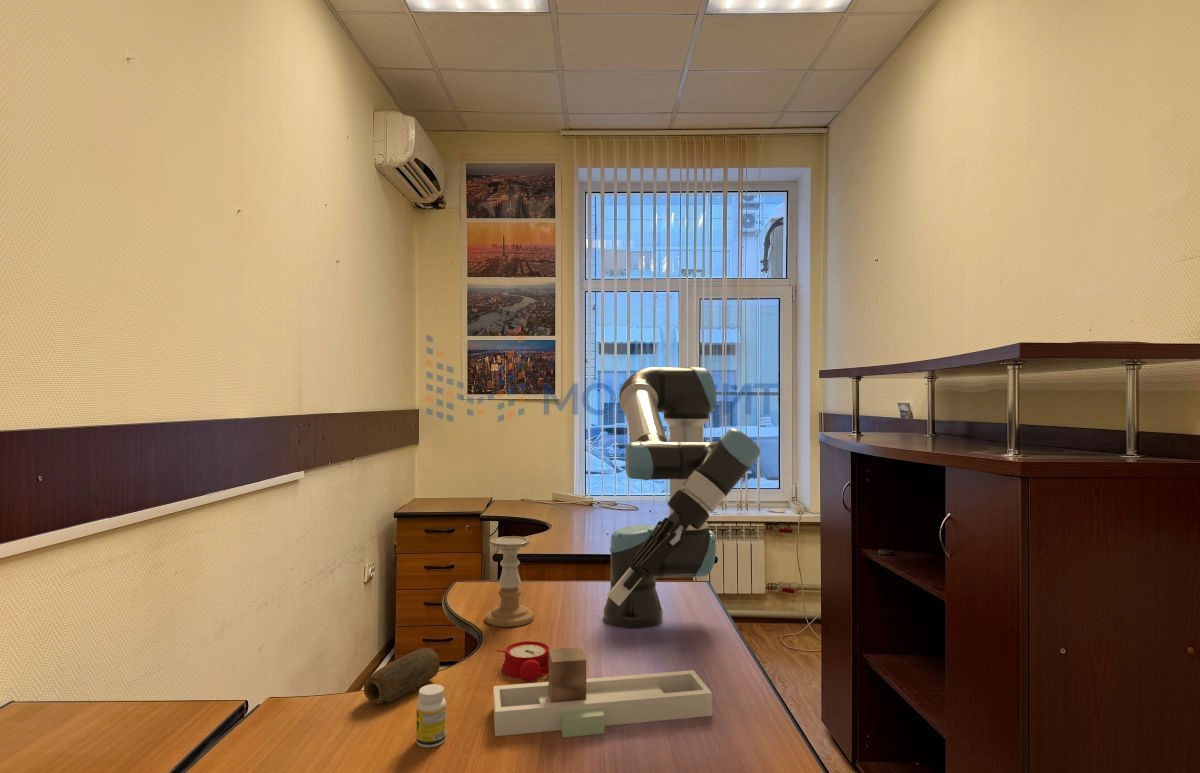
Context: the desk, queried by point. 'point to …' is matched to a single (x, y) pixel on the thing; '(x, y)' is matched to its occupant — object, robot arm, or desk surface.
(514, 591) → the candle holder
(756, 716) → the desk surface
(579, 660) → the walnut block
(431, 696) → the supplement bottle
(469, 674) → the desk surface
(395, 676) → the hollow wooden log
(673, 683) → the board
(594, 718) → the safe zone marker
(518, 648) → the alarm clock
